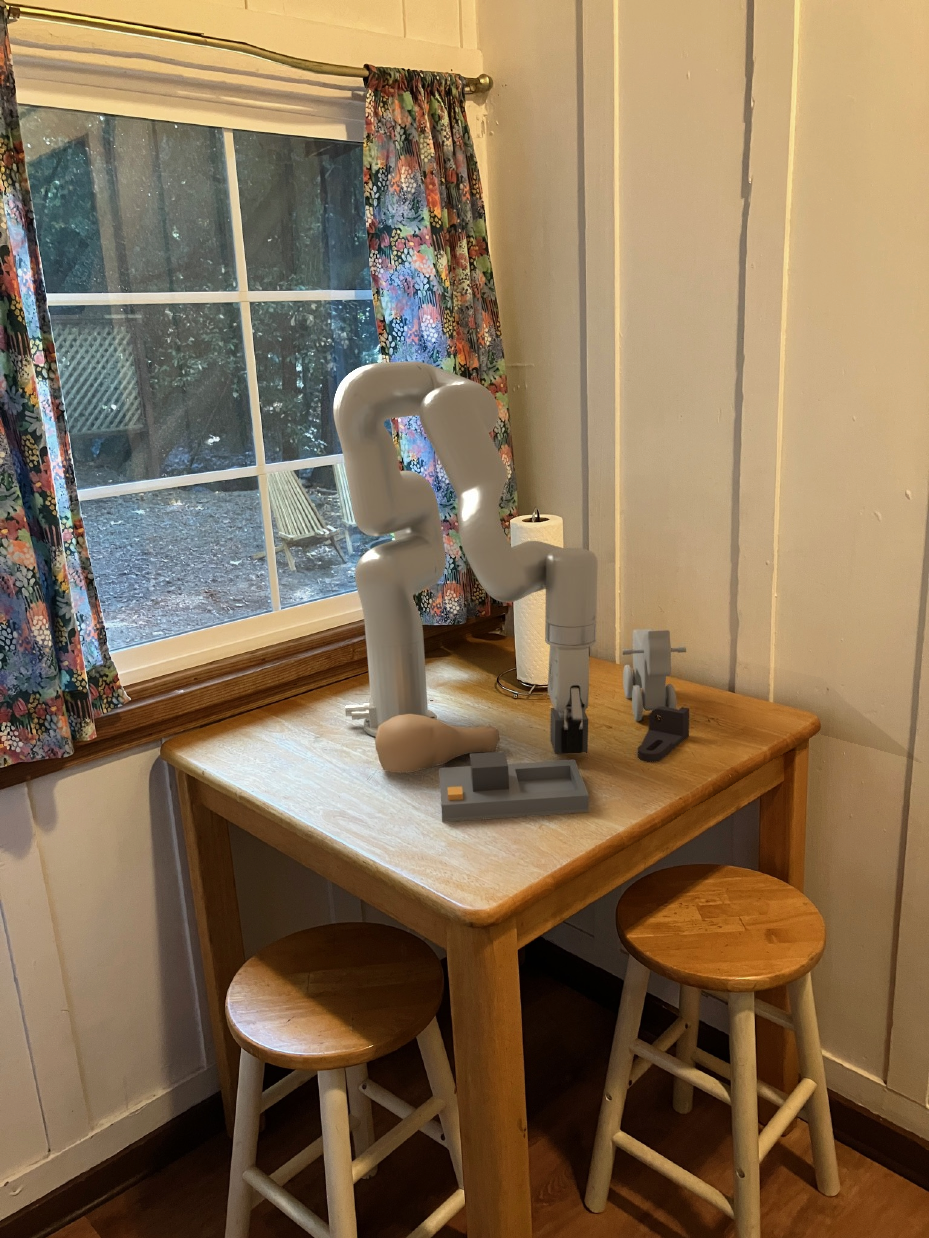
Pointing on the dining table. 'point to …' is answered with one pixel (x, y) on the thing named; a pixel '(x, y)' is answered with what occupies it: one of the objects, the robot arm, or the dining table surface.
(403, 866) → the dining table surface
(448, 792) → the grey fixture base
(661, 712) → the bracket
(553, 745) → the plug
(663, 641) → the pony
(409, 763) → the squash
